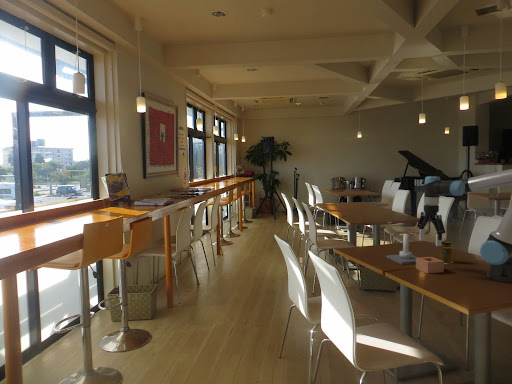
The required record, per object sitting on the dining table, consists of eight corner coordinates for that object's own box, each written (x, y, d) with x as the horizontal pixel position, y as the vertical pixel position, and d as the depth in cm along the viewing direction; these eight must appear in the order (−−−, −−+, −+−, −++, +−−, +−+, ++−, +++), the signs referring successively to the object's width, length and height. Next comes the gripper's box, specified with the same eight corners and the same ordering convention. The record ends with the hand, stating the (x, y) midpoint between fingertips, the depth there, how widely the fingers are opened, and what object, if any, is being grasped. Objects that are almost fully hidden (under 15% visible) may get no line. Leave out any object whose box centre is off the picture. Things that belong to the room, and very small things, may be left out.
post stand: (425, 262, 222) (426, 236, 221) (401, 264, 219) (402, 237, 217) (409, 256, 238) (409, 231, 236) (386, 257, 234) (386, 232, 233)
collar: (443, 272, 203) (444, 261, 202) (427, 273, 201) (427, 262, 200) (431, 267, 213) (431, 256, 212) (415, 268, 210) (416, 257, 210)
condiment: (454, 262, 222) (455, 242, 221) (444, 264, 218) (445, 244, 218) (443, 259, 229) (444, 240, 228) (434, 261, 225) (434, 241, 224)
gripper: (453, 207, 193) (452, 247, 194) (422, 202, 217) (421, 238, 219) (441, 207, 191) (439, 248, 193) (411, 202, 215) (409, 238, 217)
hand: (429, 243), depth 206 cm, fingers open, 13 cm apart
